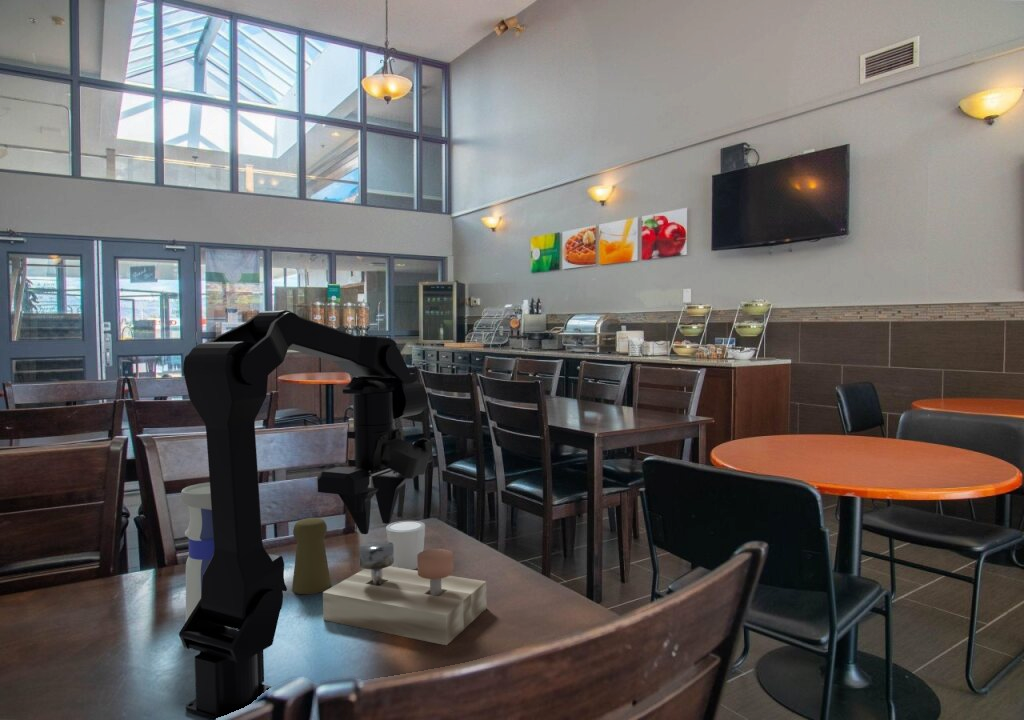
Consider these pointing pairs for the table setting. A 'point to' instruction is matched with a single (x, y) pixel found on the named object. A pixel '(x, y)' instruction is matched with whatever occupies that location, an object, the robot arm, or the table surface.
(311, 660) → the table surface
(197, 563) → the water bottle
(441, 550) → the pink mushroom knob
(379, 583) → the metal plunger
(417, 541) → the shot glass
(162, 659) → the table surface
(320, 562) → the cork
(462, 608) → the plunger block
